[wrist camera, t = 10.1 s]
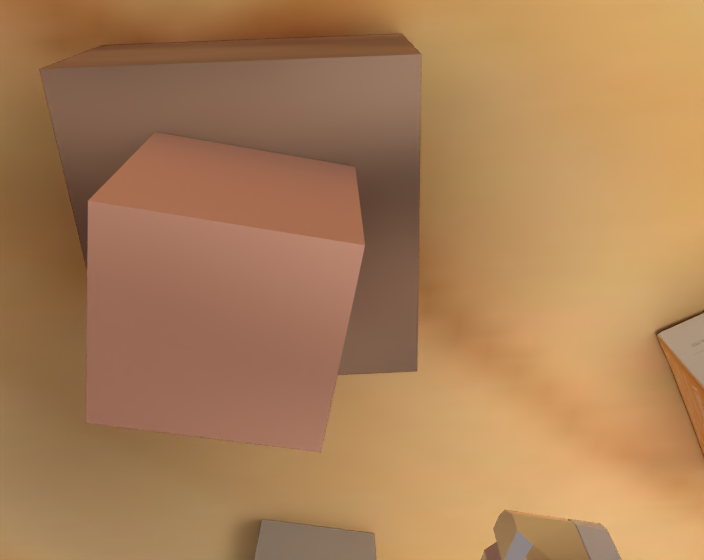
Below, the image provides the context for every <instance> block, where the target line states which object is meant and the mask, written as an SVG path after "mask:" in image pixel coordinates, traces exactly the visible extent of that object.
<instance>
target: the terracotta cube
mask: <svg viewBox="0 0 704 560" xmlns="http://www.w3.org/2000/svg"><path fill="white" fill-rule="evenodd" d="M364 248H365V240H364V232H363V224H362V216H361V208H360V200H359V192H358V184H357V176H356V168H355V167H354V166H348V165H342V164H337V163H331V162H325V161H319V160H314V159H308V158H302V157H296V156H291V155H285V154H279V153H273V152H268V151H262V150H256V149H250V148H245V147H239V146H233V145H227V144H222V143H216V142H210V141H204V140H199V139H193V138H187V137H181V136H176V135H170V134H164V133H158V132H155V133H154V134H153V135H152V136H151V137H150V138H149V139H148V140H147V141H146V142H145V143H144V144H143V145H142V146H141V147H140V148H139V149H138V150H137V151H136V152H135V153H134V154H133V155H132V156H131V157H130V158H129V159H128V160H127V161H126V162H125V164H124V165H123V166H122V167H121V168H120V169H119V170H118V171H117V172H116V173H115V174H114V175H113V176H112V177H111V178H110V179H109V180H108V181H107V182H106V183H105V184H104V185H103V186H102V187H101V188H100V189H99V190H98V191H97V192H96V193H95V194H94V195H93V196H92V197H91V198H90V199H89V200H88V252H87V356H86V423H88V424H96V425H104V426H112V427H120V428H128V429H137V430H145V431H153V432H161V433H169V434H177V435H185V436H193V437H201V438H209V439H217V440H225V441H233V442H242V443H250V444H258V445H266V446H274V447H282V448H290V449H298V450H306V451H314V452H321V449H322V445H323V440H324V435H325V431H326V426H327V421H328V417H329V412H330V407H331V403H332V398H333V393H334V389H335V384H336V379H337V374H338V370H339V365H340V360H341V356H342V351H343V346H344V342H345V337H346V332H347V328H348V323H349V318H350V314H351V309H352V304H353V300H354V295H355V290H356V286H357V281H358V276H359V272H360V267H361V262H362V258H363V253H364Z"/></svg>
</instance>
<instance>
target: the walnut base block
mask: <svg viewBox="0 0 704 560" xmlns="http://www.w3.org/2000/svg"><path fill="white" fill-rule="evenodd" d="M39 70H40V74H41V78H42V82H43V87H44V91H45V95H46V99H47V103H48V108H49V112H50V116H51V120H52V125H53V129H54V133H55V137H56V141H57V146H58V150H59V154H60V158H61V163H62V167H63V171H64V175H65V179H66V184H67V188H68V192H69V196H70V201H71V205H72V209H73V213H74V217H75V222H76V226H77V230H78V234H79V239H80V243H81V247H82V251H83V256H84V260H85V264H86V268H87V252H88V200H89V199H90V198H91V197H92V196H93V195H94V194H95V193H96V192H97V191H98V190H99V189H100V188H101V187H102V186H103V185H104V184H105V183H106V182H107V181H108V180H109V179H110V178H111V177H112V176H113V175H114V174H115V173H116V172H117V171H118V170H119V169H120V168H121V167H122V166H123V165H124V164H125V162H126V161H127V160H128V159H129V158H130V157H131V156H132V155H133V154H134V153H135V152H136V151H137V150H138V149H139V148H140V147H141V146H142V145H143V144H144V143H145V142H146V141H147V140H148V139H149V138H150V137H151V136H152V135H153V134H154V133H155V132H158V133H164V134H170V135H176V136H181V137H187V138H193V139H199V140H204V141H210V142H216V143H222V144H227V145H233V146H239V147H245V148H250V149H256V150H262V151H268V152H273V153H279V154H285V155H291V156H296V157H302V158H308V159H314V160H319V161H325V162H331V163H337V164H342V165H348V166H354V167H355V168H356V176H357V184H358V192H359V200H360V208H361V216H362V224H363V232H364V240H365V248H364V253H363V258H362V262H361V267H360V272H359V276H358V281H357V286H356V290H355V295H354V300H353V304H352V309H351V314H350V318H349V323H348V328H347V332H346V337H345V342H344V346H343V351H342V356H341V360H340V365H339V370H338V374H337V375H347V374H370V373H392V372H415V371H417V345H418V267H419V189H420V111H421V53H420V52H419V51H418V50H417V49H416V48H415V47H414V46H413V45H412V44H411V43H410V42H409V41H408V40H407V38H406V37H405V36H404V35H403V34H378V35H352V36H326V37H300V38H274V39H248V40H222V41H196V42H171V43H145V44H119V45H102V46H99V47H97V48H94V49H91V50H89V51H86V52H83V53H81V54H78V55H75V56H73V57H70V58H68V59H65V60H62V61H60V62H57V63H54V64H52V65H49V66H46V67H44V68H41V69H39Z"/></svg>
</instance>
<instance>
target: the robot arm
mask: <svg viewBox="0 0 704 560" xmlns="http://www.w3.org/2000/svg"><path fill="white" fill-rule="evenodd" d="M493 529H494V533H495V537H496V541H497V542H496V543H494V544H493V545H491V546H490V547H488V548H487V549H485V550H484V553H483V555H482V558H481V560H622V559H621V557H620V555H619V553H618V551H617V549H616V547H615V545H614V543H613V541H612V539H611V536H610V534H609V532H608V530H607V529H606V528H605V527H604V526H603V525H602V524H600V523H593V522H586V521H579V520H572V519H568V520H566V519H562V518H556V517H549V516H543V515H536V514H530V513H523V512H517V511H510V510H504V511H503V512H502V513H501V514H500V515H499V517H498V519H497V521H496V524H495V526H494V528H493Z"/></svg>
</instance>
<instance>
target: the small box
mask: <svg viewBox="0 0 704 560" xmlns="http://www.w3.org/2000/svg"><path fill="white" fill-rule="evenodd" d="M657 338H658V340H659V342H660V344H661V347H662V349H663V351H664V353H665V355H666V358H667V360H668V362H669V365H670V367H671V369H672V372H673V374H674V377H675V380H676V382H677V385H678V387H679V390H680V393H681V395H682V398H683V400H684V403H685V405H686V408H687V411H688V413H689V416H690V419H691V422H692V424H693V427H694V430H695V433H696V435H697V438H698V441H699V444H700V446H701V449H702V452H703V455H704V313H702V314H700V315H698V316H696V317H694V318H691V319H689V320H687V321H685V322H682V323H680V324H678V325H676V326H673V327H671V328H669V329H666V330H664V331H662V332H660V333H659V334H658V335H657Z"/></svg>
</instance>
